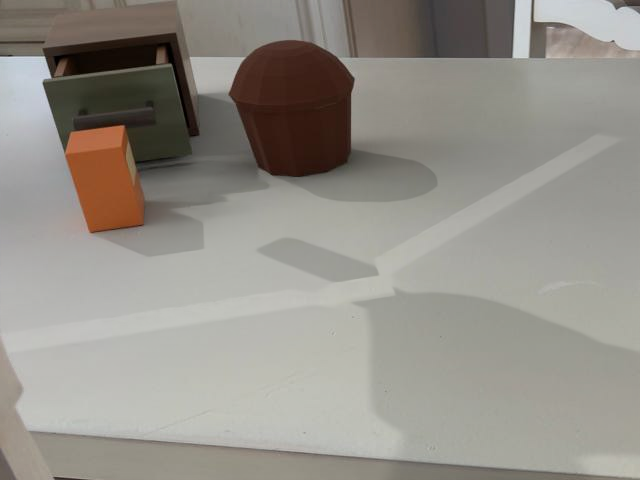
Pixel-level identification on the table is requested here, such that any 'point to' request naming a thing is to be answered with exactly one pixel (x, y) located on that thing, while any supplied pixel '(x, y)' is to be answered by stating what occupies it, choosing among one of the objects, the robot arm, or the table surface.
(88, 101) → the drawer
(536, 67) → the table surface
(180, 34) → the cabinet
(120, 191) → the orange block
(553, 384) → the table surface
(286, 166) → the muffin
